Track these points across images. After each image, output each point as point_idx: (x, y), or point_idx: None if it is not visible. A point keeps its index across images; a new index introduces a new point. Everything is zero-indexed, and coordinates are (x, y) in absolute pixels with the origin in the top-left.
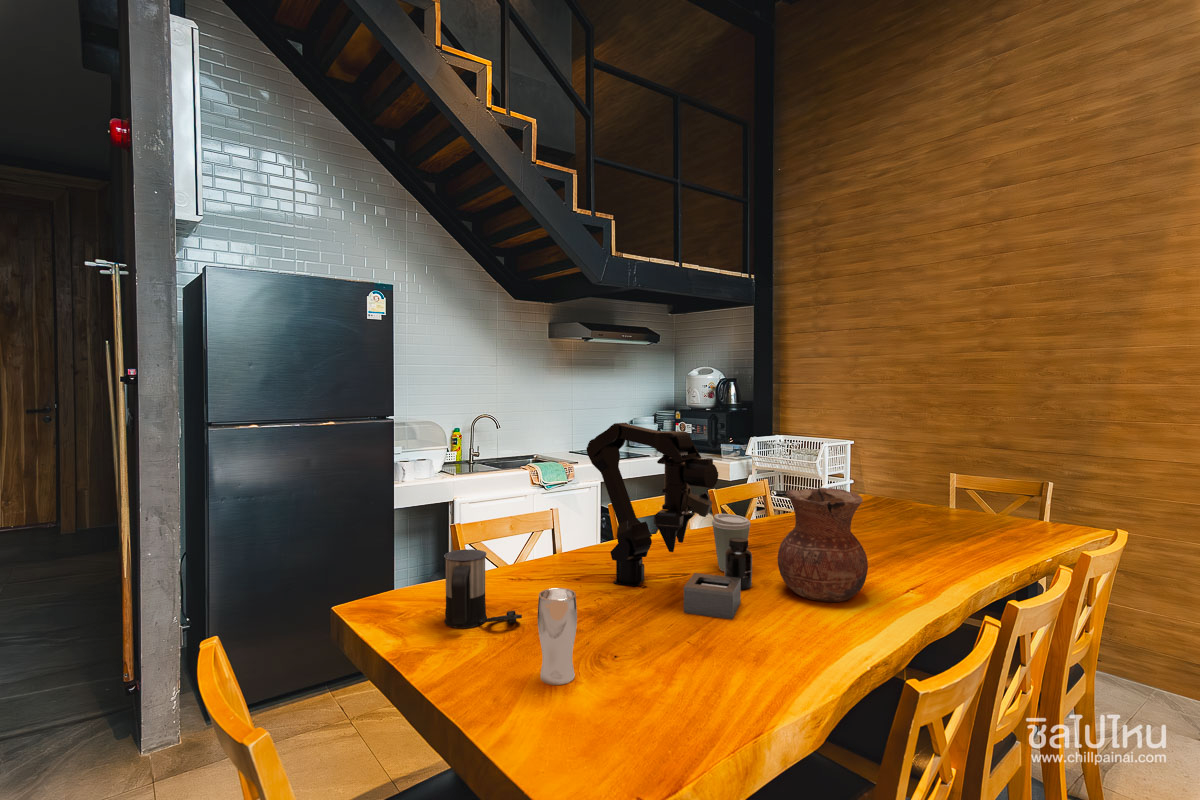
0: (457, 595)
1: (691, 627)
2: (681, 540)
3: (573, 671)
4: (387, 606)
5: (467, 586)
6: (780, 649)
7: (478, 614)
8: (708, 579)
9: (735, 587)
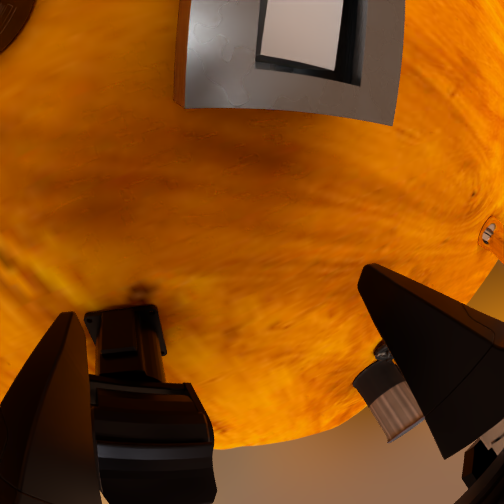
0: None
1: (407, 85)
2: (75, 332)
3: (496, 220)
4: (335, 419)
5: None
6: None
7: (392, 366)
8: (255, 23)
9: None
